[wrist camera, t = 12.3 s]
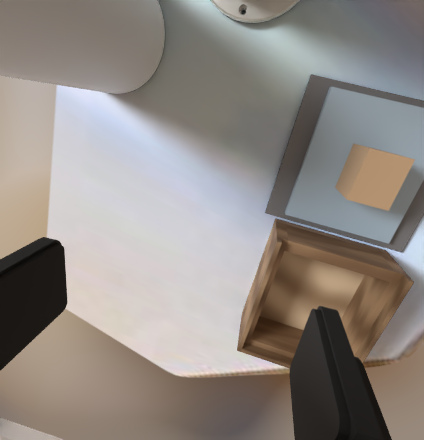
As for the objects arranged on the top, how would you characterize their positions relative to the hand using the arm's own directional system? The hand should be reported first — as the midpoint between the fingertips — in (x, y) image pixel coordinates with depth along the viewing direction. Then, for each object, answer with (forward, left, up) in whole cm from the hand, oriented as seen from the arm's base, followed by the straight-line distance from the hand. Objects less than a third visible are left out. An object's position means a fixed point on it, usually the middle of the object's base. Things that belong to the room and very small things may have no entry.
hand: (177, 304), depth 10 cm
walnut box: (+13, +13, -26) cm, 32 cm away
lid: (-4, +13, -26) cm, 29 cm away
